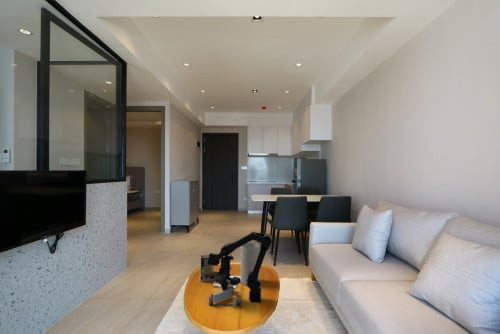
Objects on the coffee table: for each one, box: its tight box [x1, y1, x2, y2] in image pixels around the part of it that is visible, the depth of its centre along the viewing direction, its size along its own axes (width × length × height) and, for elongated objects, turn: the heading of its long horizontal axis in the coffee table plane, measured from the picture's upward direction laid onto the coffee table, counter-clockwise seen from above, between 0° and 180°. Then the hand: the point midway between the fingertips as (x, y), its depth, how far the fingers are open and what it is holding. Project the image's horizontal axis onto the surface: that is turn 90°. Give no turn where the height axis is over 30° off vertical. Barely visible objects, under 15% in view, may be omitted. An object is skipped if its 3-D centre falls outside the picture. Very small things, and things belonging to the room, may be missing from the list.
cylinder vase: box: [240, 242, 260, 286], centre depth 188 cm, size 12×12×25 cm
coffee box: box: [199, 254, 215, 283], centre depth 191 cm, size 9×6×16 cm
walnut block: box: [226, 283, 235, 295], centre depth 172 cm, size 4×4×4 cm
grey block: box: [213, 288, 233, 304], centre depth 161 cm, size 12×2×5 cm, turn 131°
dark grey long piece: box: [208, 293, 242, 309], centre depth 155 cm, size 18×4×6 cm, turn 88°
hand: (224, 292), depth 165 cm, fingers closed
